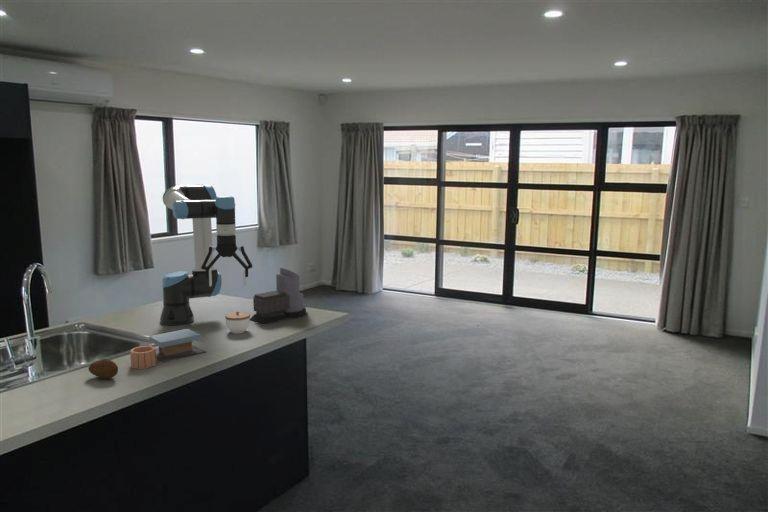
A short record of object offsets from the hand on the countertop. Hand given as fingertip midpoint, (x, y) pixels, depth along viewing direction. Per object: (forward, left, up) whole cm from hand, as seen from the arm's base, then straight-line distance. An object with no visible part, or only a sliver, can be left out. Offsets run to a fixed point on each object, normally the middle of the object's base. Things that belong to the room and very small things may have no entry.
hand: (227, 285), depth 235 cm
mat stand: (-4, -22, -25) cm, 33 cm away
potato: (+6, -52, -25) cm, 58 cm away
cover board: (-4, -22, -20) cm, 30 cm away
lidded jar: (-13, +11, -25) cm, 31 cm away
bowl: (+2, -37, -25) cm, 44 cm away
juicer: (-22, +40, -25) cm, 52 cm away
